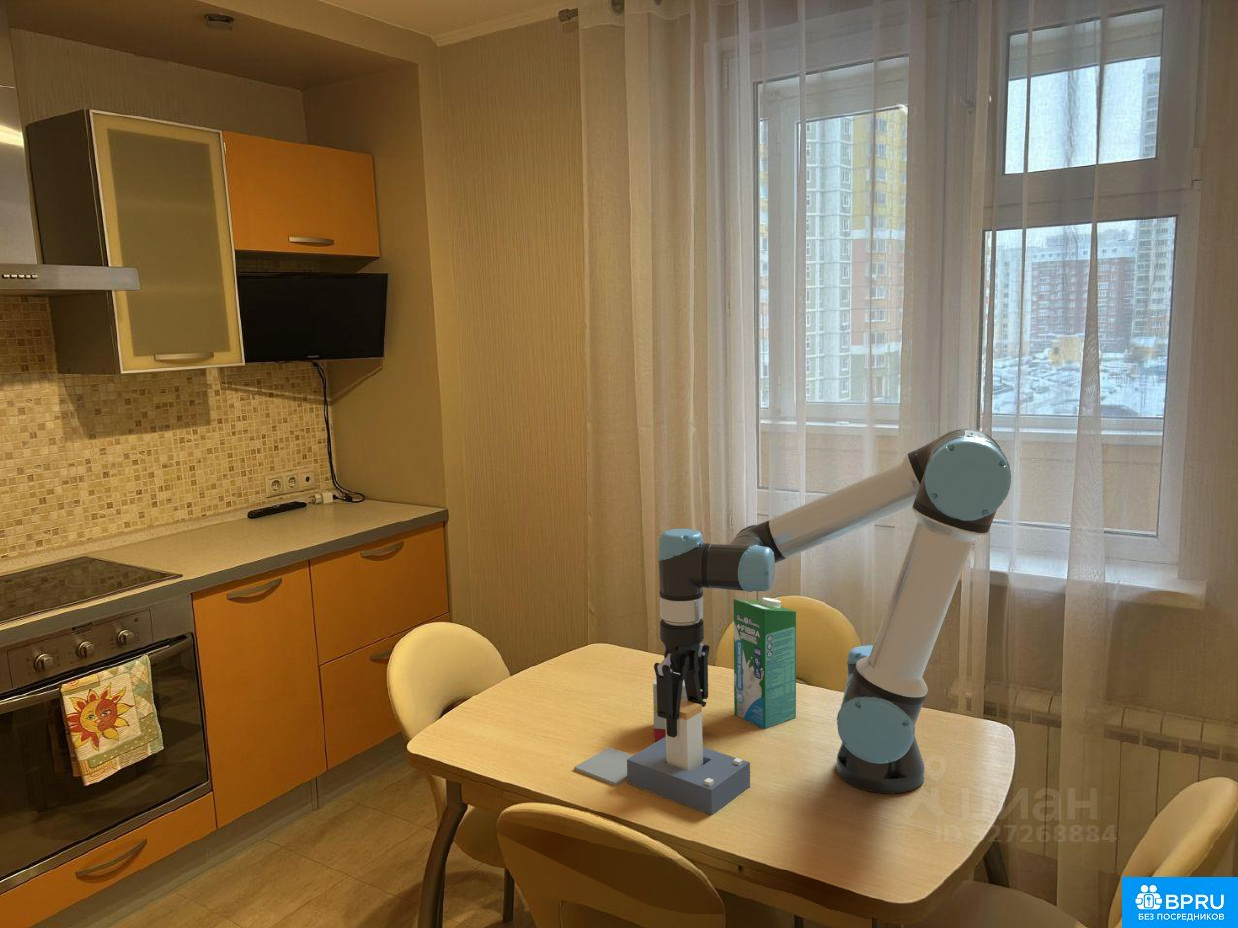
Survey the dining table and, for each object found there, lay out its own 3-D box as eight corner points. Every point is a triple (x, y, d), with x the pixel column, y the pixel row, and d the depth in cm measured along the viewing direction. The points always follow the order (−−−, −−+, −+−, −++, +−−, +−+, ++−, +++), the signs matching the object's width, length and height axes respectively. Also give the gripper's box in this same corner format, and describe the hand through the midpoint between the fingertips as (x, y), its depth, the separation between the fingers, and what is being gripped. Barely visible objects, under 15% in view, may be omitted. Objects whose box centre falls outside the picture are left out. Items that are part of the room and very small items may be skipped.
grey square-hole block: (750, 786, 160) (749, 759, 160) (711, 815, 151) (711, 786, 150) (667, 757, 172) (667, 732, 171) (627, 783, 163) (626, 756, 162)
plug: (703, 775, 162) (701, 704, 160) (688, 785, 158) (686, 713, 157) (682, 768, 165) (680, 698, 163) (667, 778, 161) (665, 707, 160)
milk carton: (796, 717, 188) (796, 600, 184) (763, 729, 183) (763, 608, 179) (765, 703, 195) (765, 590, 192) (733, 714, 190) (732, 598, 187)
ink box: (696, 743, 177) (695, 685, 176) (652, 740, 179) (651, 683, 177) (701, 724, 186) (700, 669, 184) (659, 722, 188) (658, 667, 186)
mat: (650, 764, 169) (650, 761, 169) (616, 785, 162) (615, 782, 162) (609, 749, 176) (609, 746, 176) (574, 769, 168) (574, 766, 168)
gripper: (693, 602, 167) (695, 723, 170) (632, 628, 153) (636, 759, 157) (728, 609, 162) (729, 734, 165) (668, 637, 148) (671, 771, 152)
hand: (684, 746), depth 161 cm, fingers closed on plug, 5 cm apart
